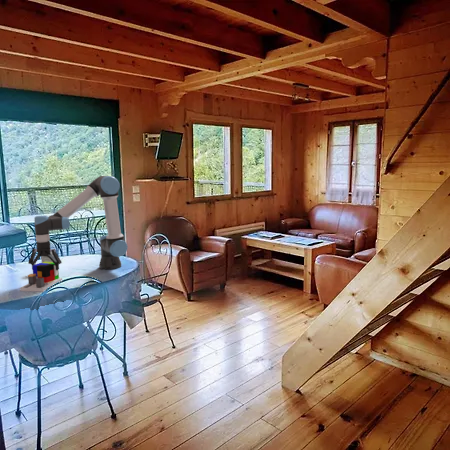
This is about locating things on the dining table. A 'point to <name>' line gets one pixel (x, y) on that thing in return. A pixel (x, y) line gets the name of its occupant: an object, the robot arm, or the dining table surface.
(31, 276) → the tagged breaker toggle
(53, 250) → the robot arm
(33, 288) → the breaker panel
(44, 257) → the supplement tub
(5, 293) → the dining table surface
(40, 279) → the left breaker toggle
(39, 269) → the puzzle toy
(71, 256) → the dining table surface
